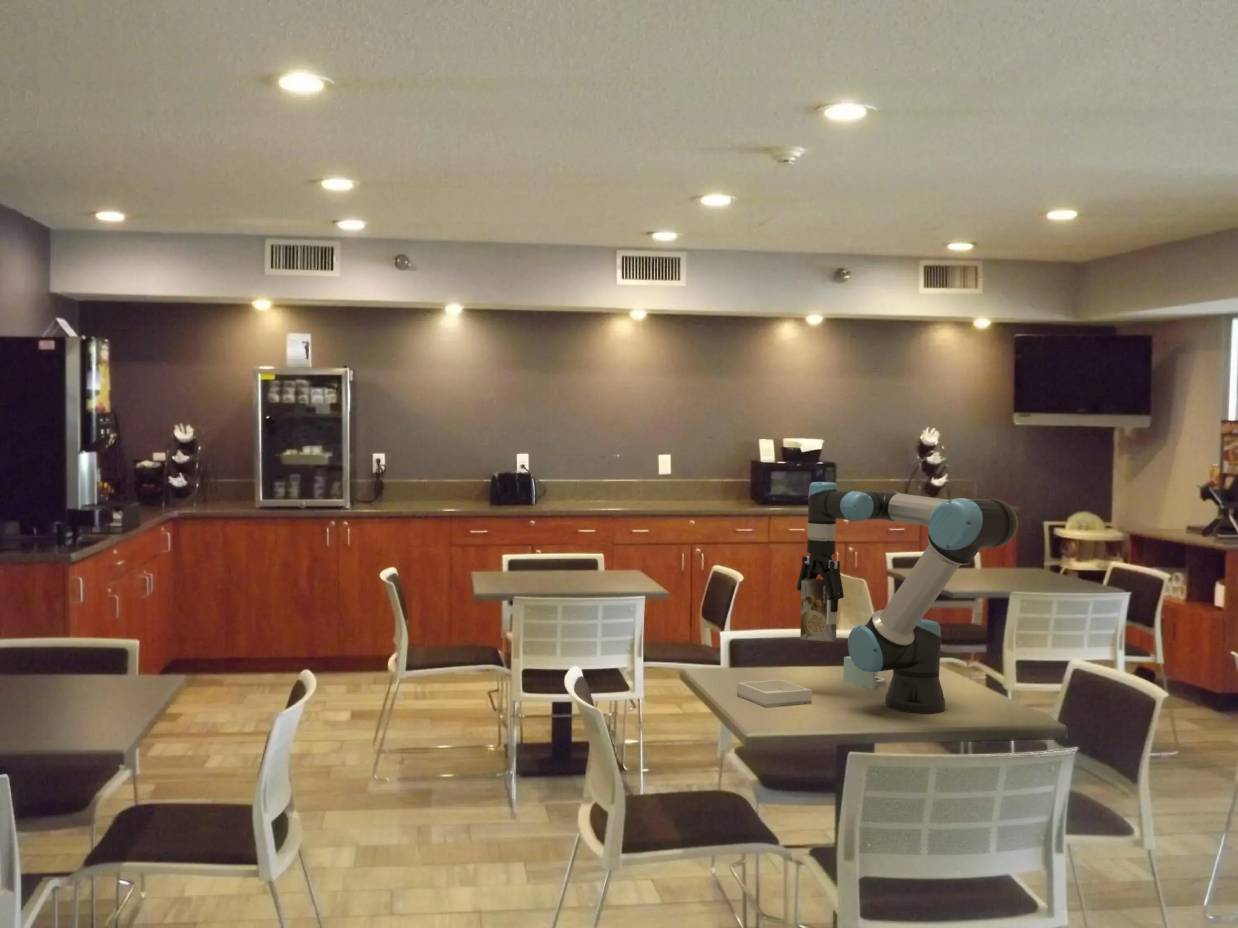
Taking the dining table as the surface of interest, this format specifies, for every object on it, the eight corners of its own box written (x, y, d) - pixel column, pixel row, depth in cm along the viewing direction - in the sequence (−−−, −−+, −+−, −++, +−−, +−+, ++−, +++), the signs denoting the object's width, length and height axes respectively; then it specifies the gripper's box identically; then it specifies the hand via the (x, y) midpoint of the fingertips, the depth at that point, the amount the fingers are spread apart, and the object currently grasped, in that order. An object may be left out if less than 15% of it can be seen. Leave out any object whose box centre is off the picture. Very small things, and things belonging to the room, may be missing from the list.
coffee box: (837, 638, 307) (839, 579, 307) (833, 642, 301) (835, 582, 301) (803, 635, 310) (805, 577, 310) (799, 639, 304) (800, 579, 304)
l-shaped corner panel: (872, 691, 314) (873, 664, 314) (843, 682, 325) (844, 656, 324) (904, 687, 320) (905, 661, 320) (874, 679, 331) (875, 653, 330)
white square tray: (811, 703, 295) (811, 689, 294) (765, 707, 288) (766, 693, 288) (781, 691, 307) (781, 679, 307) (736, 695, 301) (737, 682, 301)
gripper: (859, 542, 297) (856, 626, 297) (807, 535, 317) (805, 613, 318) (836, 543, 293) (833, 628, 294) (785, 535, 314) (783, 614, 315)
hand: (818, 620), depth 306 cm, fingers closed on coffee box, 11 cm apart
